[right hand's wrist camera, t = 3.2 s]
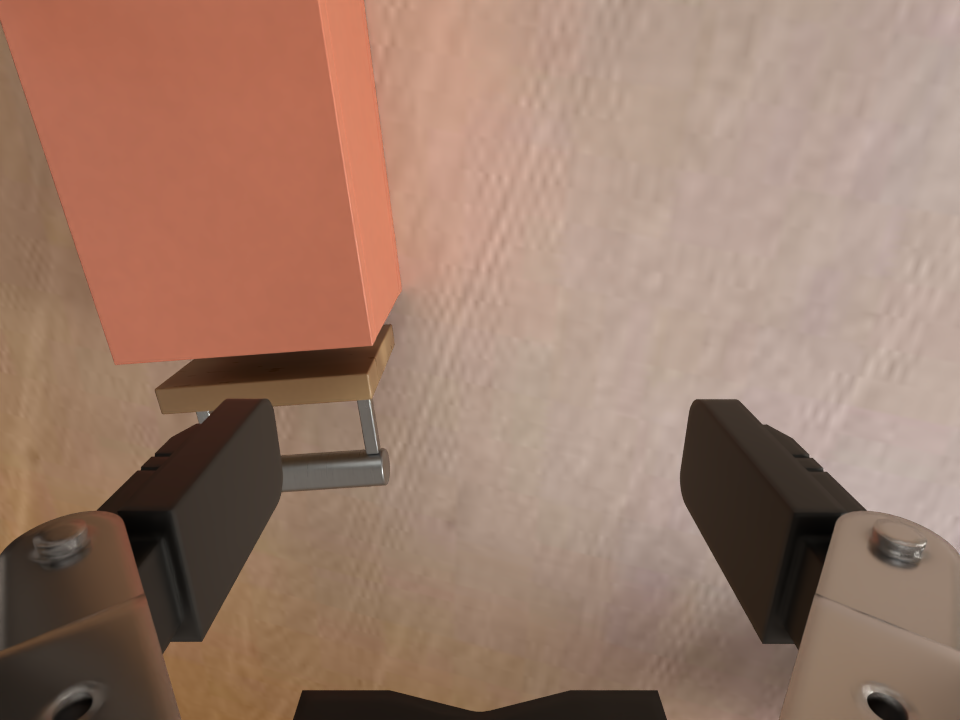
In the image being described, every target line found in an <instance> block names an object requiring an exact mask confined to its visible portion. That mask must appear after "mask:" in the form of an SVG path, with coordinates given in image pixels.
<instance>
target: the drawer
mask: <svg viewBox="0 0 960 720" xmlns="http://www.w3.org/2000/svg"><path fill="white" fill-rule="evenodd" d="M394 345H395V344H394V337H393V330H392V325H391V324H387V325H383V326H382V328H381V330H380V332H379V333H378V335H377V337H376V340H375V342H374V344H373V345H372V346H363V347H349V348H336V349H323V350H309V351H296V352H282V353H269V354H255V355H242V356H228V357H215V358H201V359H194V360H192V361H191V362H190V363H188V364H187V365H186V366H184V367H183V368H182V369H181V370H179V371H178V372H177V373H175V374H174V375H173V376H171V377H170V378H169V379H168V380H166V381H165V382H164V383H162V384H161V385H160V386H158V387H157V388H156V389H155V393H156V396H157V399H158V402H159V406H160V409H161V412H162V414H174V413H188V412H196V414H197V417H198V421H199V424H201V423H202V422H203V421H204V420H205V419H206V418H207V417H208V416H209V415H210V414H211V413H212V412H213V411H214V410H215V409H216V408H217V407H218V406H219V405H220V404H221V403H222V402H223V401H224V400H225V399H269V400H270V402H271V403H272V406H286V405H300V404H314V403H328V402H342V401H356V400H357V403H358V409H359V415H360V420H361V426H362V432H363V438H364V443H365V449H366V450H353V451H338V452H324V453H309V454H295V455H280V456H281V462H282V470H283V485H282V492H292V491H307V490H322V489H337V488H352V487H367V486H382V485H387V484H388V481H389V476H390V462H389V455H388V452H387V450H386V449H384V448H382V449H380V442H379V435H378V429H377V423H376V417H375V411H374V405H373V398H372V397H373V395H374V392H375V390H376V388H377V385H378V383H379V381H380V378H381V376H382V373H383V371H384V369H385V366H386V364H387V362H388V359H389V357H390V354H391V352H392V350H393V347H394Z"/></svg>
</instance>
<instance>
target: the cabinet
mask: <svg viewBox="0 0 960 720" xmlns="http://www.w3.org/2000/svg"><path fill="white" fill-rule="evenodd" d="M0 21H1V24H2V27H3V30H4V33H5V36H6V39H7V42H8V45H9V48H10V51H11V54H12V57H13V60H14V63H15V66H16V69H17V72H18V75H19V78H20V81H21V84H22V87H23V90H24V93H25V96H26V99H27V102H28V105H29V108H30V111H31V114H32V117H33V120H34V123H35V126H36V129H37V132H38V135H39V138H40V141H41V144H42V147H43V150H44V153H45V156H46V159H47V162H48V165H49V168H50V171H51V174H52V177H53V180H54V183H55V186H56V189H57V192H58V195H59V198H60V201H61V204H62V207H63V210H64V213H65V216H66V219H67V222H68V225H69V228H70V231H71V234H72V237H73V240H74V243H75V246H76V249H77V252H78V255H79V258H80V261H81V264H82V267H83V270H84V273H85V276H86V279H87V282H88V285H89V288H90V291H91V294H92V297H93V300H94V303H95V306H96V309H97V312H98V315H99V318H100V321H101V324H102V327H103V330H104V333H105V336H106V339H107V342H108V345H109V348H110V351H111V354H112V357H113V360H114V363H115V365H120V364H134V363H147V362H161V361H174V360H188V359H201V358H215V357H228V356H242V355H255V354H269V353H282V352H296V351H309V350H323V349H336V348H349V347H363V346H372V345H373V344H374V342H375V340H376V337H377V335H378V333H379V332H380V330H381V328H382V326H383V324H384V322H385V320H386V318H387V316H388V315H389V313H390V311H391V309H392V307H393V305H394V303H395V301H396V299H397V297H398V296H399V294H400V292H401V290H402V287H401V280H400V272H399V265H398V257H397V250H396V242H395V234H394V227H393V219H392V212H391V204H390V196H389V189H388V181H387V174H386V166H385V158H384V151H383V143H382V136H381V128H380V120H379V113H378V105H377V98H376V90H375V82H374V75H373V67H372V60H371V52H370V45H369V37H368V29H367V22H366V14H365V7H364V0H0Z"/></svg>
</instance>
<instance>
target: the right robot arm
mask: <svg viewBox="0 0 960 720" xmlns="http://www.w3.org/2000/svg"><path fill="white" fill-rule="evenodd" d="M282 485H283V470H282V462H281V456H280V449H279V442H278V435H277V428H276V421H275V415H274V409H273V406H272V403H271V402H270V400H269V399H225V400H224V401H223V402H222V403H221V404H220V405H219V406H218V407H217V408H216V409H215V410H214V411H213V412H212V413H211V414H210V415H209V416H208V417H207V418H206V419H205V420H204V421H203V422H202V423H201V424H195V425H193V426H191V427H190V428H188V429H186V430H184V431H182V432H180V433H179V434H177V435H175V436H173V437H171V438H170V439H169V440H168V441H167V442H166V443H165V444H164V445H163V446H162V447H161V448H160V449H159V450H158V451H157V452H156V453H155V457H151V458H150V459H149V460H148V461H147V462H146V463H145V464H144V465H143V466H142V467H141V471H137V472H136V473H135V474H134V475H132V476H131V477H130V478H129V479H128V480H127V481H126V482H125V483H124V484H123V485H122V486H121V487H120V488H119V489H118V490H117V491H116V492H115V493H114V494H113V495H112V496H111V497H110V498H109V499H108V500H107V501H106V502H105V503H104V504H103V505H102V506H101V507H100V508H99V509H98V510H97V511H87V512H79V513H74V514H70V515H66V516H62V517H59V518H56V519H53V520H50V521H48V522H46V523H43V524H41V525H39V526H37V527H35V528H33V529H31V530H29V531H27V532H26V533H24V534H23V535H21V536H20V537H18V538H17V539H15V540H14V541H13V542H12V543H11V544H9V545H8V546H7V547H6V548H5V550H4V551H3V552H2V553H1V555H0V720H181V717H180V714H179V710H178V707H177V703H176V700H175V696H174V693H173V689H172V686H171V682H170V679H169V675H168V672H167V668H166V665H165V661H164V658H163V653H164V651H165V650H166V648H167V646H168V645H169V643H170V642H202V641H203V639H204V637H205V635H206V633H207V632H208V630H209V628H210V626H211V624H212V622H213V621H214V619H215V617H216V615H217V613H218V612H219V610H220V608H221V606H222V604H223V602H224V601H225V599H226V597H227V595H228V593H229V591H230V590H231V588H232V586H233V584H234V582H235V581H236V579H237V577H238V575H239V573H240V571H241V570H242V568H243V566H244V564H245V562H246V561H247V559H248V557H249V555H250V553H251V551H252V550H253V548H254V546H255V544H256V542H257V541H258V539H259V537H260V535H261V533H262V531H263V530H264V528H265V526H266V524H267V522H268V520H269V519H270V517H271V515H272V513H273V511H274V510H275V508H276V506H277V504H278V502H279V499H280V496H281V492H282ZM680 486H681V493H682V497H683V500H684V503H685V505H686V507H687V509H688V510H689V512H690V514H691V516H692V518H693V519H694V521H695V523H696V525H697V527H698V528H699V530H700V532H701V534H702V536H703V537H704V539H705V541H706V543H707V545H708V546H709V548H710V550H711V552H712V554H713V555H714V557H715V559H716V561H717V563H718V564H719V566H720V568H721V570H722V572H723V573H724V575H725V577H726V579H727V581H728V582H729V584H730V586H731V588H732V590H733V591H734V593H735V595H736V597H737V599H738V600H739V602H740V604H741V606H742V608H743V609H744V611H745V613H746V615H747V617H748V618H749V620H750V622H751V624H752V626H753V627H754V629H755V631H756V633H757V635H758V636H759V638H760V640H761V642H762V644H795V645H796V647H797V649H798V650H799V651H798V655H797V658H796V661H795V665H794V668H793V672H792V675H791V679H790V682H789V686H788V689H787V693H786V696H785V700H784V703H783V707H782V710H781V714H780V717H779V720H960V555H959V553H958V552H957V551H956V550H955V548H954V547H953V546H952V545H951V544H949V543H948V542H947V541H946V540H945V539H943V538H942V537H940V536H939V535H937V534H936V533H934V532H933V531H931V530H929V529H927V528H925V527H923V526H921V525H919V524H917V523H914V522H912V521H910V520H907V519H904V518H901V517H898V516H894V515H890V514H886V513H881V512H873V511H867V510H866V509H865V508H864V507H863V506H862V505H861V504H860V503H859V502H857V501H856V500H855V499H854V498H853V497H852V496H851V495H850V494H849V493H848V492H847V491H846V490H845V489H844V488H843V487H842V486H841V485H840V484H839V483H838V482H837V481H836V480H835V479H834V478H833V477H832V476H831V475H830V474H829V473H828V472H824V471H823V468H822V467H821V466H820V465H819V464H818V463H817V462H816V461H815V460H814V459H813V458H809V454H808V453H807V452H806V451H805V450H804V449H803V448H802V447H801V446H800V445H799V444H798V443H797V442H796V441H795V440H794V439H793V438H791V437H789V436H787V435H785V434H783V433H781V432H780V431H778V430H776V429H774V428H772V427H770V426H769V425H762V424H761V423H760V422H759V420H758V419H757V418H756V417H755V416H754V415H753V414H752V413H751V412H750V411H749V410H748V409H747V408H746V407H745V406H744V405H743V404H742V403H741V402H740V401H739V400H736V399H696V400H695V401H694V402H693V403H692V405H691V407H690V411H689V417H688V423H687V430H686V437H685V443H684V450H683V457H682V464H681V471H680ZM293 720H667V718H666V715H665V712H664V709H663V706H662V703H661V700H660V697H659V693H658V690H570V691H566V692H562V693H558V694H554V695H550V696H546V697H542V698H538V699H534V700H530V701H526V702H522V703H518V704H515V705H511V706H507V707H503V708H499V709H495V710H491V711H485V712H475V711H469V710H465V709H461V708H457V707H453V706H449V705H445V704H442V703H438V702H434V701H430V700H426V699H422V698H418V697H414V696H410V695H406V694H402V693H398V692H394V691H390V690H302V693H301V697H300V700H299V703H298V706H297V709H296V712H295V715H294V718H293Z"/></svg>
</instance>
